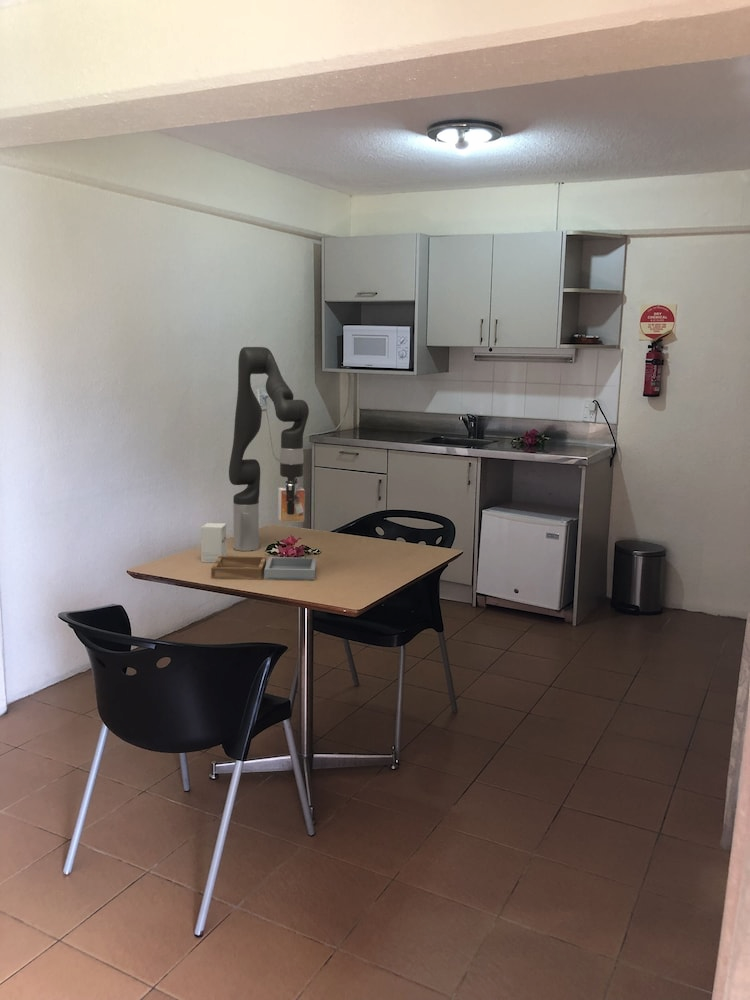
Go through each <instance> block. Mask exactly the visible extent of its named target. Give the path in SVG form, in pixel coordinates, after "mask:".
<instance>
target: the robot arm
mask: <svg viewBox="0 0 750 1000" xmlns="http://www.w3.org/2000/svg"><path fill="white" fill-rule="evenodd" d="M237 368H238V370H237V371H238V375H237V379H238V380H237V397H236V405H235V414H234V430H233V442H232V447H231V455H230V459H229V460H230V461H229V467H228V480H229V481H230V484H231V485H233V486H245V485H247V486H246V488H245V489H244V490H243V489H242V490H241V491H240V492H238V493H236V494H234V496H233V501H232V502H233V505H232V506H233V510H232V511H233V549H234V550H237V551H242V552H243V551H244V552H249V551H251V550H252V551H256V550H258V549H259V548H260V547H259V546H260V542H259V541H260V539H259V538H260V535H259V534H260V531H259V528H260V527H259V526H260V525H259V524H260V523H259V521H260V516H259V515H260V513H259V504H260V491H261V490H260V487H261V466H260V463H259V461H258V460H257V459H254V458H253V459H252V458H251V459H243V458H244V456H245V451H246V450H247V448H248V447H249V445H250V444H251V442H252V441H253V440H255V439H254V438H256V437H257V435H258V433H259V432H260V429H261V425H262V418H263V417H262V416H263V409H262V407H261V404H260V402H259V399H258V398H257V396H256V394H255V393H254V391H253V389H252V382H251V377H252V375H266V376H267V378H266V382H265V390H266V393H267V395H268V396H269V398H270V400H271V402H273V403H272V404H273V407H274V410H275V415H276V418H277V419H278V420H279V421H280V422H283V423H293V424H292V426H291V427H289V428H286V429H282V431H281V434H280V436H281V437H280V455H279V456H280V457H279V459H280V461H279V462H280V463H279V475H280V477H282V478H287V480H286V481H285V482H284V488H286V502H287V514H291V515H293V514H294V502H295V496H296V490H297V488H299V481H298V478H301V477H303V476H304V433H305V429H306V425H307V422H308V419H309V418H308V417H309V414H310V410H309V409H310V408H309V405H308V403H307V401H305V400H303V399H294V393H293V391H292V390H291V388H290V387H289V385H288V384H287V383H286V381H285V380H284V378H283V375H282V373H281V372H280V368H279V366H278V363H277V361H276V359H275V356H274V355H273V353H272V351H271V350H270V349H269V348H268V347H264V346H244V347H242V348H241V349H240V352H239V355H238V367H237ZM294 490H295V492H294ZM289 496H292V498H289Z"/></svg>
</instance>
